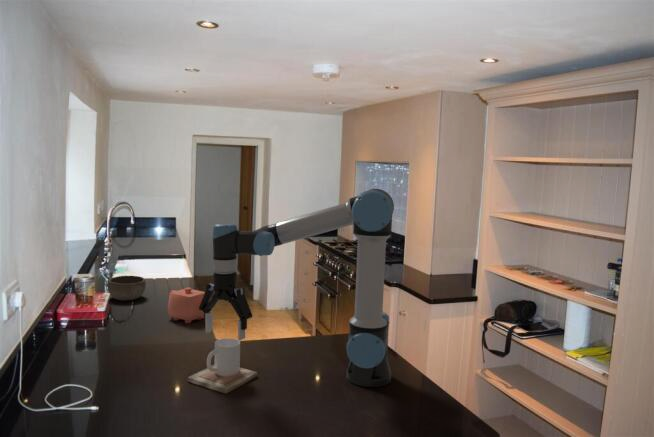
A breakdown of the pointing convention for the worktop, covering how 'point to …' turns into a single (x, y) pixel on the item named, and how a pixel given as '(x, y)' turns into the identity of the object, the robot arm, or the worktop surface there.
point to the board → (221, 379)
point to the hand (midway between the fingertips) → (225, 335)
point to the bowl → (126, 287)
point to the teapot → (185, 304)
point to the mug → (225, 357)
